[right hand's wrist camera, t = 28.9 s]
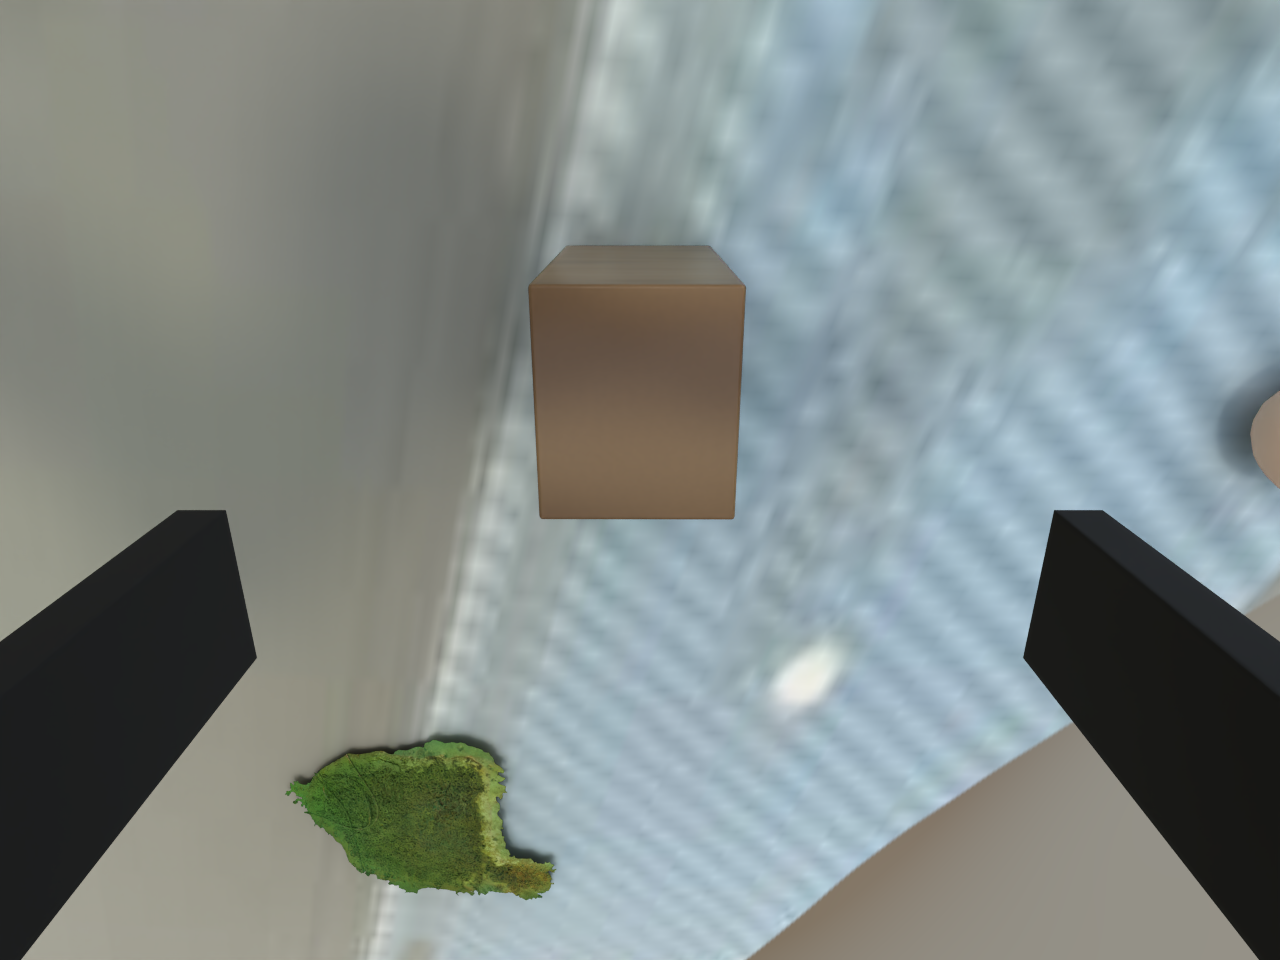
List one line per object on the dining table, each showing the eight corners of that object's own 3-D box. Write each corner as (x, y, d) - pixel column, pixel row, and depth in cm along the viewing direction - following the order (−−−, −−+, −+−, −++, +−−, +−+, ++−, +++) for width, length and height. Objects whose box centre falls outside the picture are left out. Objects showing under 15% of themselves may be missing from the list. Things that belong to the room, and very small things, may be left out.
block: (705, 411, 34) (734, 520, 24) (570, 410, 34) (539, 520, 24) (711, 245, 32) (746, 284, 21) (565, 245, 32) (527, 284, 21)
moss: (383, 675, 39) (377, 687, 38) (616, 827, 43) (616, 842, 42) (262, 811, 42) (254, 825, 41) (488, 942, 46) (485, 958, 45)
